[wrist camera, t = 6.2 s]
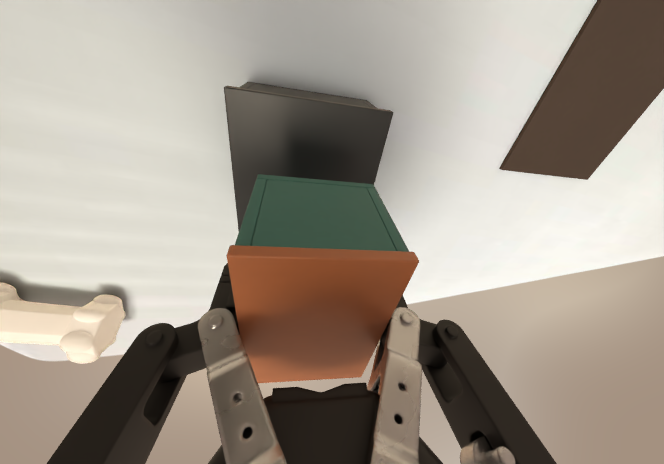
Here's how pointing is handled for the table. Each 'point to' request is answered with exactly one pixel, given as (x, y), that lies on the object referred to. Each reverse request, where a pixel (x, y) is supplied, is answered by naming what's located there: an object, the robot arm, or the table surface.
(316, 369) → the orange and teal box
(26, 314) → the white bone
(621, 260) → the table surface
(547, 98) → the mat
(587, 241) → the table surface
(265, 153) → the bottom box
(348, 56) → the table surface
